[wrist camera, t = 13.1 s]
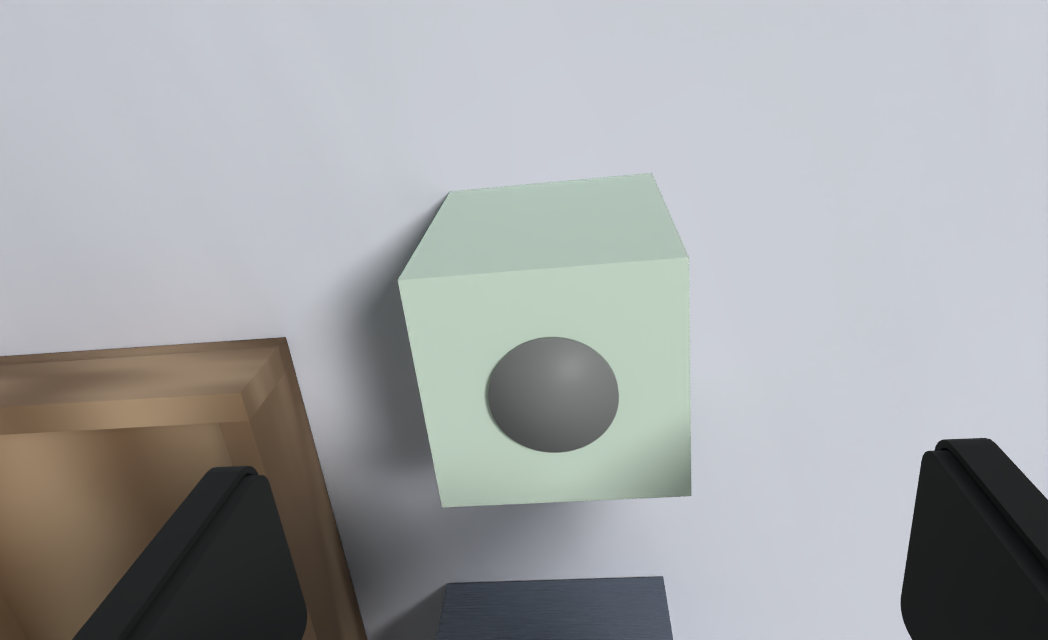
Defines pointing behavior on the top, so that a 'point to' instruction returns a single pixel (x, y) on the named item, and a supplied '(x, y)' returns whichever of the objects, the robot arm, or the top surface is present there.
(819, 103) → the top surface
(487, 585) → the block
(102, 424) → the tray
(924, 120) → the top surface
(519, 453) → the pale green block
